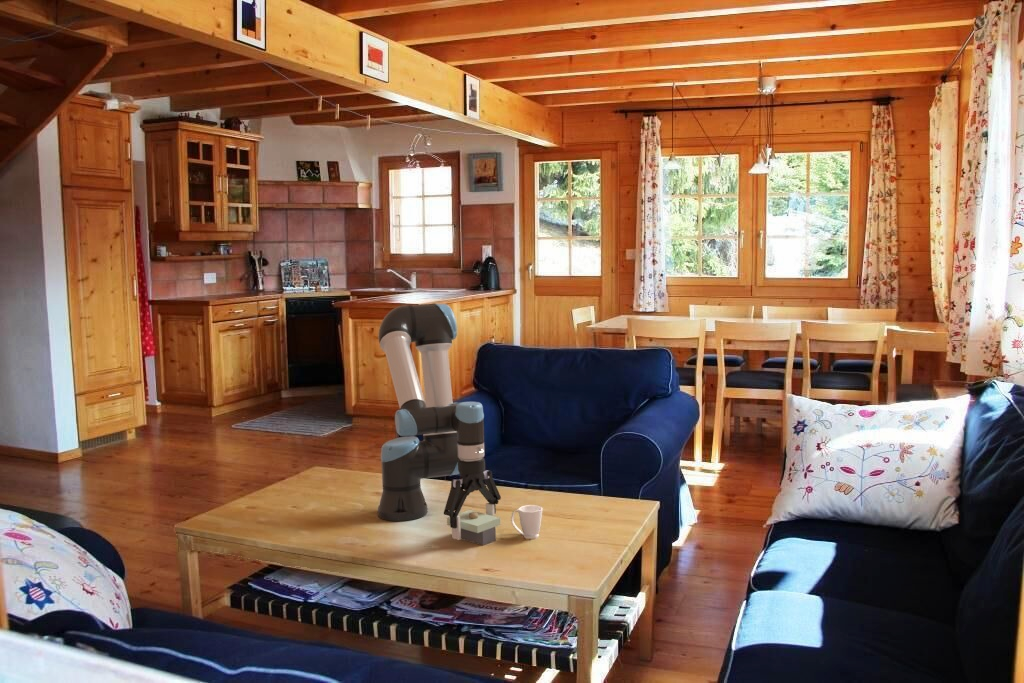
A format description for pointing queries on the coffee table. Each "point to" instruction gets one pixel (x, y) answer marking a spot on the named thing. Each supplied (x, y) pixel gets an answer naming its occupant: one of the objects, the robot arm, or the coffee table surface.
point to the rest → (479, 536)
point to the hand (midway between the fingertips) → (474, 532)
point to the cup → (529, 520)
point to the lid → (476, 521)
